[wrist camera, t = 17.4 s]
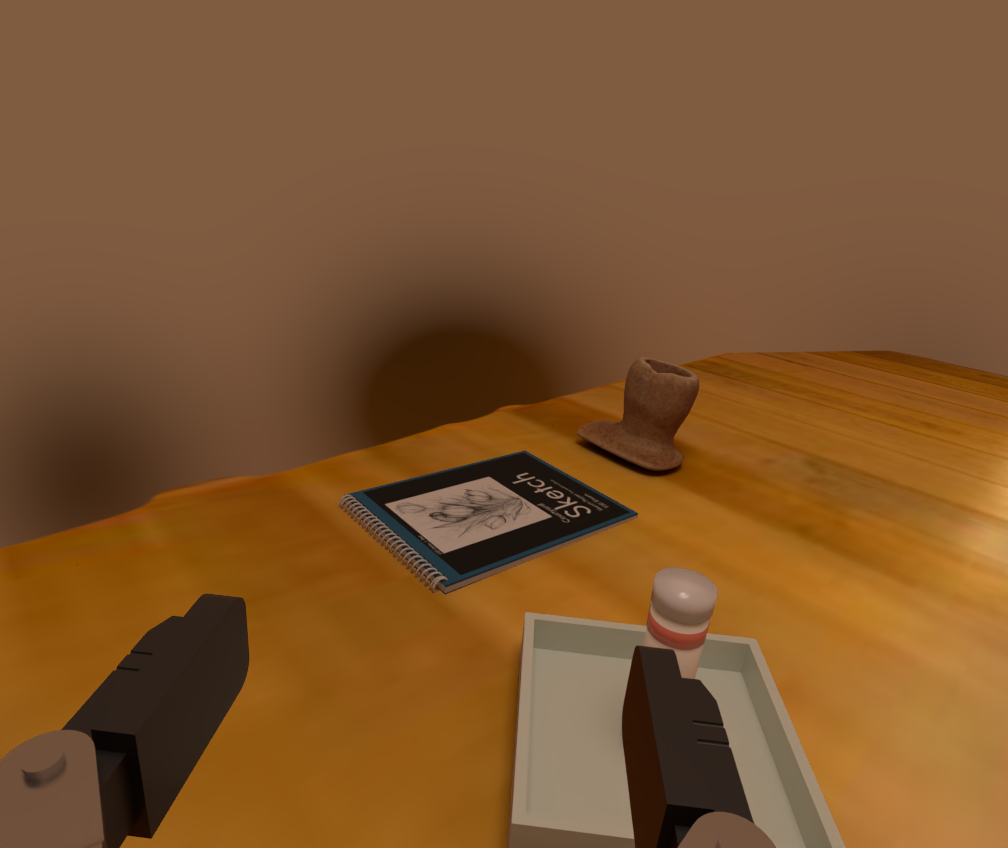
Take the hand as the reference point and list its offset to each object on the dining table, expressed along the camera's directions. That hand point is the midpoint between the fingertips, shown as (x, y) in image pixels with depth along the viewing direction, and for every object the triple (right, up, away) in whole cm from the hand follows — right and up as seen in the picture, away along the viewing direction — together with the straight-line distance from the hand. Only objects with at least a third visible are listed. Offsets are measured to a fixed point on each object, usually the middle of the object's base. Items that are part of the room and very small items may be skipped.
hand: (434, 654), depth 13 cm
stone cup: (+22, 0, +88) cm, 90 cm away
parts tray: (+12, -20, +35) cm, 42 cm away
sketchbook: (0, -7, +67) cm, 68 cm away
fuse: (+12, -19, +35) cm, 41 cm away
